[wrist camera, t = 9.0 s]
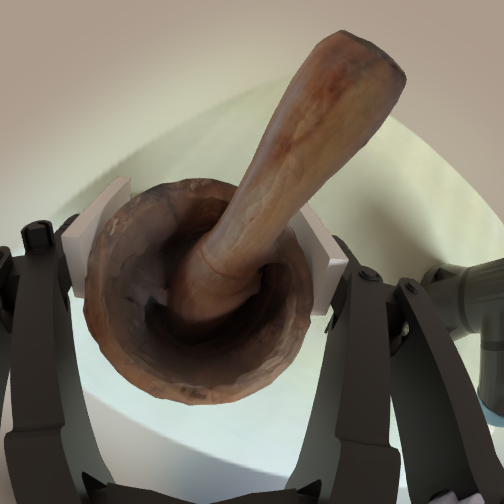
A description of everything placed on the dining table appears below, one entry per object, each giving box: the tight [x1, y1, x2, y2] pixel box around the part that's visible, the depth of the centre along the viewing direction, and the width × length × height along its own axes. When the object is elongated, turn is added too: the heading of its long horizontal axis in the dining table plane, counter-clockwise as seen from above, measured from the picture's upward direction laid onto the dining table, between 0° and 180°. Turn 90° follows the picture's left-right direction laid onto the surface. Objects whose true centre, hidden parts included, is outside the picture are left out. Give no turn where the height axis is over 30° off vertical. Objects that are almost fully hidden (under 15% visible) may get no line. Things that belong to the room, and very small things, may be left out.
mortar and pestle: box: [83, 30, 407, 406], centre depth 13 cm, size 12×9×20 cm
